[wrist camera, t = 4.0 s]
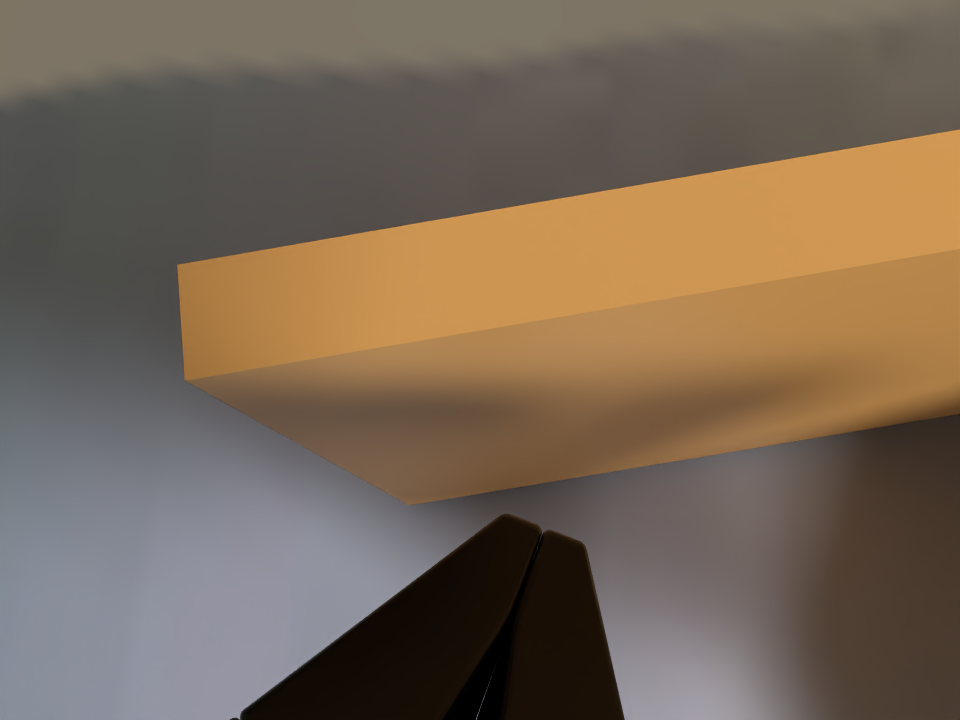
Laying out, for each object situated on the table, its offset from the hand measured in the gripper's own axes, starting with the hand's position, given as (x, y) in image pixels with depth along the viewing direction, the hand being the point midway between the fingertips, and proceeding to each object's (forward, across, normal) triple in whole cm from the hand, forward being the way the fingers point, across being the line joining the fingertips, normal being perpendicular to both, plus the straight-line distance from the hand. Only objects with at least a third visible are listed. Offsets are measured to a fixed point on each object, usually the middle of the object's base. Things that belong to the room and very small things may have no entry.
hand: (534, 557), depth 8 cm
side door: (+8, -4, +2) cm, 9 cm away
